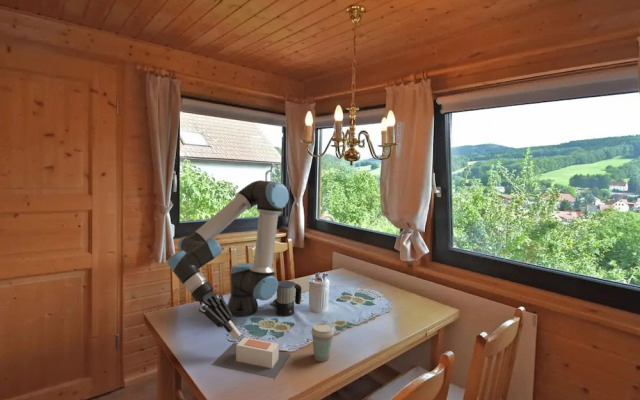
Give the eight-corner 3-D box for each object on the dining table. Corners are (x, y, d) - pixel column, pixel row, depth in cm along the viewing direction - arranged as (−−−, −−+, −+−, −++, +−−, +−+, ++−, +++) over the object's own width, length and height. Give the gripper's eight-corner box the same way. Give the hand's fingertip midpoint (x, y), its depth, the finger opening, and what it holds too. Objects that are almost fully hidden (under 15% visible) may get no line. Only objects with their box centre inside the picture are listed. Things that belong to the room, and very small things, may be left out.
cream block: (236, 344, 122) (272, 351, 119) (244, 336, 128) (278, 343, 124) (236, 360, 123) (271, 368, 119) (243, 352, 128) (278, 359, 125)
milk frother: (286, 318, 160) (287, 288, 159) (261, 310, 168) (261, 281, 167) (303, 308, 173) (304, 280, 171) (278, 301, 180) (279, 274, 179)
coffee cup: (331, 351, 133) (333, 322, 132) (333, 364, 125) (334, 332, 123) (310, 350, 133) (311, 321, 132) (310, 363, 124) (311, 332, 123)
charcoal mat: (211, 366, 120) (211, 364, 120) (233, 344, 135) (233, 342, 135) (274, 380, 114) (274, 378, 114) (290, 355, 129) (290, 353, 129)
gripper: (203, 287, 135) (239, 334, 132) (181, 299, 122) (222, 351, 120) (215, 276, 133) (252, 323, 130) (194, 286, 121) (235, 339, 118)
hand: (237, 336), depth 125 cm, fingers closed
